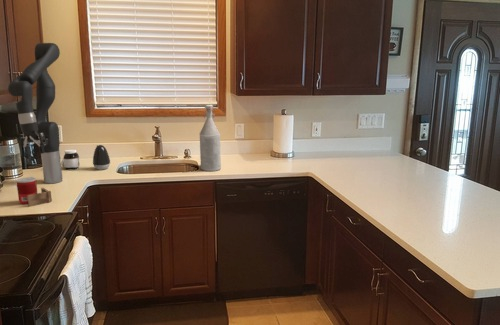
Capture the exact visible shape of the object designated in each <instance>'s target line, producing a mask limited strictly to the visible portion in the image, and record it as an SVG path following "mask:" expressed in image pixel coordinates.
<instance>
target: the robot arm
mask: <svg viewBox="0 0 500 325" xmlns="http://www.w3.org/2000/svg"><path fill="white" fill-rule="evenodd" d="M60 55H61V52H60V48H59V46H58V44H56V43H55V42H54V43H53V42H39V43H36V45H35V47H34V60H35V61H33V62H32V63H30V64H29V65H27V66H26V67H25V69H24V70H23V71H22V73H21V74H20V75H18V76H17V77H16V78H14V79H13V80H11V82H10V83H9V84H8V87H7V91H8V93H9V95H11V96H13V97H20V98H21V99H20V100H19V101H17V102H16V104H15V106H16V111H17V115H18V122H19V125H20V126H19V127H20V130H21V134H18V139H19V140H18V141H19V144H20V147H23V148H24V150H25V153H26V155H31V154H32V151H31V146H30V144H31V143H34V144H36V145H37V146H38V151H39V154H40V156H41V157H40V158H41V164H42V165H41V166H42V174H43V183H45V184H57V183H60V182H62V181H63V172H62V171H63V169H62V165H61V161H62V160H61V152H60V144H61V143H60V129H59V128H60V127H59V126H58V123H57V122H55V121H47V114H48V111H49V109H50V108H51V107H52V105H53V103H54V101H55V100H56V84H55V82H54V80H53V79H52V77H51V75H50V74H49V72H48V68H49V67H50V66H52V64H54V63H55V62H56V61H57V60H58V59H59V57H60ZM35 83H36V85H35V86H36V87H35V88H36V90H35V92H36V93H35V96H36V100H35V102H36V106H35V107H36V109H35V112H34V107H33V95H34V94H33V93H34V92H33V86H32V85H34V84H35Z"/></svg>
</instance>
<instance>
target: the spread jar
mask: <svg viewBox="0 0 500 325" xmlns="http://www.w3.org/2000/svg"><path fill="white" fill-rule="evenodd" d="M60 161H61V167H64V169H65V170H67V169H74V170H77V168H78V169H79V168H80V165H81V163H80V156H79V153H77V149H65V150H64V155H63V158H62V160H60Z"/></svg>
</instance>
